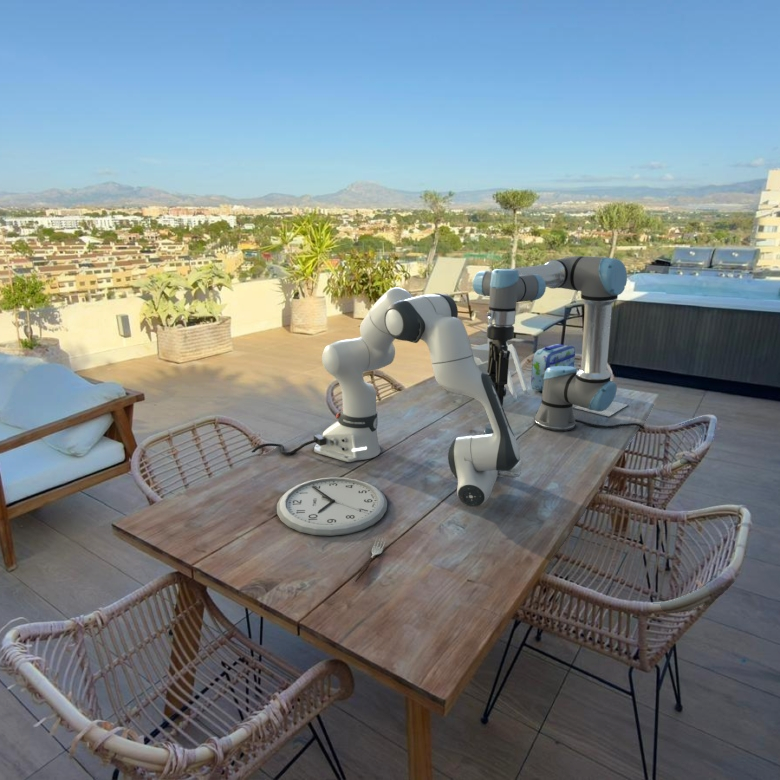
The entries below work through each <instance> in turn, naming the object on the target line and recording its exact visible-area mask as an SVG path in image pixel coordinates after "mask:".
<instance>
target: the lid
mask: <svg viewBox="0 0 780 780" xmlns="http://www.w3.org/2000/svg"><path fill="white" fill-rule="evenodd" d="M494 386H495V385H494ZM506 395H507V387H506V386H504V397H506Z"/></svg>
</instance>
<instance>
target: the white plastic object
mask: <svg viewBox="0 0 780 780" xmlns="http://www.w3.org/2000/svg"><path fill="white" fill-rule="evenodd" d="M506 343H507V346H508V351H510V356H509V361H510V360H513V363H514V366H515V369H516V372H517V376H518V380H519V382H520V385H521V389H522V391H523V393H524V395H525V396H526V397H528V396H531V395H530V390H529V388H528V387H529V386H528V384H527V381H526V378H525V375H524V371H523V369H522V368H523V367H522V366H521V362H520V359H519V355H518V352H517V349H516V347H515V346H514V345H513V343H511V344H508V341H507V342H506ZM471 348H472V352H473V357H474V361H475V363H476V365H477V366H478V368H479V369H480V370H481V372H483V373H485V374H488V375H489V373H488V372H487V369H488V357H489V342H487V343H483V344H479V345H473V346H471ZM506 385H507V386H508V390H509V393H510V394H511V395H512V397H513V398H514V399H515V400H517V392H516V391H517V390H516V388H515V385H514V381H513V378H512V375H511V371H510V369H509V367H508V380H507V384H506Z"/></svg>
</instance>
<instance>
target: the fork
mask: <svg viewBox="0 0 780 780" xmlns="http://www.w3.org/2000/svg"><path fill="white" fill-rule="evenodd" d="M378 538H379V540H378ZM381 539H382V540H381ZM384 539H385V540H384ZM380 541H381V542H380ZM383 541H384V542H383ZM386 541H387V538H385V537H384V536H383V537H382V536H380V537H379V536H377V537H376V538H375V541H374V544H373V546H372V548H371V554H372V555H371V556H370V557H369V558H368V559H367V561H365V563H364V564H363V565H362V567H361V569H360V570H359V573H358V574H357V577H356V579H355V580H354V582H355V583H357V582H358V581H359V580H360V578H361V577H362V576H363V574H365V572H366V571H367V570H368V569H369V567H370V565H371V563H372V560H373V558H374V557H375V556H378V555H381V554H382V553H383V552H384V548H385V545H386Z"/></svg>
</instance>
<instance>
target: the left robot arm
mask: <svg viewBox="0 0 780 780" xmlns="http://www.w3.org/2000/svg"><path fill="white" fill-rule="evenodd" d="M458 314H459V309H458V306H457V303H456V301H455V299H453V297H452V296H449V294H444V293H436V292H435V293H432V294H422V295H416V296H412V294H411V293H410V292H409V291H408V290H406V289H404V288H402V287H392V288H389V289H388V290H387V291H386V292H385V293H383V294H382V295H381V296H380V297H379V298H378V299H377V300H376V301H375V303H374V304H373V305H372V306H371V308H370V309H369V311H368V312H367V313H366V315H365V316H364V318H363V319H362V321H361V322H360V324H359V334H360V337H359V336H358V337H355V338H348V339H341V340H337V341H335V342H332V343H330V344H327V345H326V346H325V347H324V349H323V351H322V355H321V362H322V366H323V367H324V369H325V371H326V372H327V373H328V374H329V375H331V376H332V377H334V379H335V380H336V381H337V382H338V384H339V386H340V390H341V398H342V408H341V410H340V411H338V413H337V414H336V415H335V419H337V420H336V421H335V422H334V423H332V424H331V425H330V426H328V427H327V428H326V429H325V430H324V431H323V432H322V434H320V433H318V434H314V435H313V439H311V440H309V441H306V442H304V443H302V444H301V445H299V446H298V447H296V448H294V449H292V450H291V451H285V446H284V445H283V444H280V443H269V442H268V443H262V444H260V445H257V446H256V447H254V448H253V449H252V450H251V453H253V454H254V453H255V452H256V451H258V450H259V449H262V448H266V447H277V448H280V453H281V455H284V456H291V455H293V454H295V453H296V452H299V451H300V450H302V449H303V448H304V447H306V446H309V445H312V444H314V443H315V446H314V447H313V448H314V449H313V452H314V453H316V454H319V455H323V456H326V457H329V458H333V459H337V460H340V461H343V462H347V463H351V462H357V461H363V460H370V459H372V458H376V457H377V456H378V455H380V454H381V451H382V450H381V448H380V443H379V439H378V424H379V420H378V419H379V418H378V410H377V390H376V389H375V387H374V385H372V384H371V383H369V382H367V381H365V379H364V373H365V372H371V371H376V370H379V369H383V368H385V367H387V366H389V365H391V364H392V363H393V362H394V360H395V357H396V348H395V345H394V343H393V342H394V341H395V340H398V341H403V342H409V343H413V344H417V343H419V342H420V340H421V341H423V342H424V343H425V344H426V345H427V347H428V351H429V357H430V362H431V363H430V364H431V367H432V371H433V372H432V373H433V376H434V379H435V381H436V383H438V385H439V386H440V387H441V388H442V389H444V390H446V391H448V392H449V393H452V394H456V395H460V396H461V395H462V396H464V397H469V398H472V399H475V400H476V401H478V402H479V403H480V404H481V405H482V407H483V408H484V410H485V413H486V416H487V418H488V421H489V424H491V427H492V429H493V432H494V433H492V434H484V433H483V434H476V435H473V434H472V435H464V436H457V437H455V438H454V439H453V441H452V442H451V444H450V446H449V448H448V453H447V460H448V466H449V470H450V471H451V473H452V477H454V478H455V479H456V480H457V488H456V494H457V498H458V500H459V501H460V502H461V503H462V504H464V505H465V506H468V507H480V506H482V505H484V504H485V503H486V502H487V501H488V499H489V498H490V496H491V494H492V492H493V489H494V485H495V484H496V481H497V479H498V477H500V478H506V479H516V478H519V477H520V476H521V473H522V466H523V460H522V459H521V451H520V450H521V449H520V446H519V443H518V440H517V439H516V437H515V434H514V432H513V430H512V428H511V426H510V425H511V424H510V423H509V420H508V418H507V415H506V412H505V410H504V407H503V406H504V405H503V406H502V404H501V401H500V398H499V396H498V393H497V391H496V388H495V386H494V384H493V382H492V380H491V378H490V377H489V374H485V373H483V372H481V370H480V369H479V368H478V366H477V365H476V363H475V361H474V357H473V352H472V348H471V347H472V344H471V341H470V338H469V335H468V331H467V329H466V327H465V325H464V324H465V323H464V322H463V321H462V320H461V318H458V317H459V315H458Z"/></svg>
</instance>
